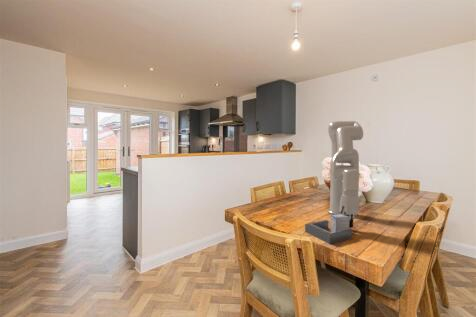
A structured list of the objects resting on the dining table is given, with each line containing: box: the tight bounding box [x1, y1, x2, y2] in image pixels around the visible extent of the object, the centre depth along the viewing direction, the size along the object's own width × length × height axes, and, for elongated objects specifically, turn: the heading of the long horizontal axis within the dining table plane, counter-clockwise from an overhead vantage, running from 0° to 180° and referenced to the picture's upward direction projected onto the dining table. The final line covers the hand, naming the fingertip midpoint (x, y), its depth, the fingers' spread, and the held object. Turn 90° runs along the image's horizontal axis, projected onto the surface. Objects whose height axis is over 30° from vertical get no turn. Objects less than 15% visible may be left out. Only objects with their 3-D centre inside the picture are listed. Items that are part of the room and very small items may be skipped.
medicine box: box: [330, 214, 350, 233], centre depth 116 cm, size 8×4×9 cm, turn 101°
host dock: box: [304, 219, 353, 245], centre depth 113 cm, size 15×16×5 cm
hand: (349, 226), depth 120 cm, fingers closed
